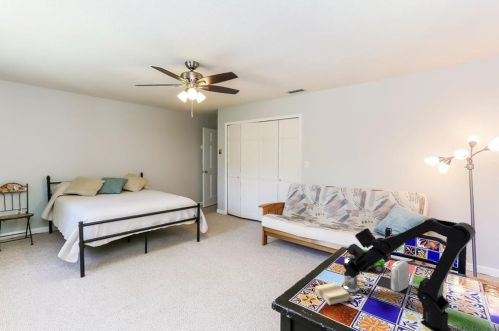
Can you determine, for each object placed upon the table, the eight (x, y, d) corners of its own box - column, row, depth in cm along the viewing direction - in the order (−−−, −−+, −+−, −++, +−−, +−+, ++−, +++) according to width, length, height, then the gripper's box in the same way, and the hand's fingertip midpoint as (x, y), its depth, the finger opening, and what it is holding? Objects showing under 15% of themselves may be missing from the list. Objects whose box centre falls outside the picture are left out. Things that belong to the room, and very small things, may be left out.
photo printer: (400, 282, 120) (400, 257, 120) (410, 286, 117) (410, 260, 116) (389, 289, 115) (389, 262, 114) (399, 293, 111) (399, 265, 111)
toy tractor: (386, 275, 128) (386, 256, 128) (352, 271, 134) (352, 252, 133) (382, 266, 139) (382, 248, 138) (350, 262, 144) (350, 245, 144)
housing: (362, 290, 113) (362, 259, 112) (350, 293, 110) (350, 261, 110) (351, 283, 119) (351, 253, 119) (339, 286, 117) (339, 255, 117)
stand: (349, 300, 106) (349, 293, 106) (329, 304, 103) (329, 297, 103) (333, 288, 116) (333, 282, 115) (315, 292, 112) (315, 286, 112)
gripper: (369, 236, 117) (347, 252, 126) (347, 244, 105) (325, 262, 114) (387, 257, 111) (363, 273, 120) (365, 269, 99) (340, 286, 108)
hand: (348, 273), depth 116 cm, fingers closed on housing, 5 cm apart
